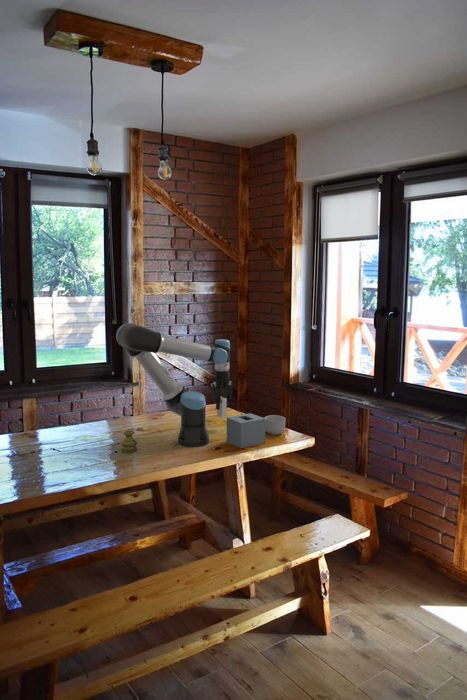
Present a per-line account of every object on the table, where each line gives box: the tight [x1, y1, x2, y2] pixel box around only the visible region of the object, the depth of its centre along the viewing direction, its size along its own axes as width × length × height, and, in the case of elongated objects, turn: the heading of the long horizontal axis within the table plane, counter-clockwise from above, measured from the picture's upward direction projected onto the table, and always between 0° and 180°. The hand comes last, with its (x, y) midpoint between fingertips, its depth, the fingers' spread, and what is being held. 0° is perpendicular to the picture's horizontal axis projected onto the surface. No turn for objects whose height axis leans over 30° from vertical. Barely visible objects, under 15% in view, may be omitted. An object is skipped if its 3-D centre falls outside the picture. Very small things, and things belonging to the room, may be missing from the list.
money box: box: [226, 412, 266, 449], centre depth 276 cm, size 14×12×12 cm
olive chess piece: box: [120, 428, 138, 454], centre depth 263 cm, size 7×7×10 cm
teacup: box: [264, 414, 286, 436], centre depth 292 cm, size 14×11×8 cm
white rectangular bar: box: [216, 396, 228, 419], centre depth 298 cm, size 2×5×10 cm, turn 34°
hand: (221, 414), depth 298 cm, fingers closed on white rectangular bar, 2 cm apart
